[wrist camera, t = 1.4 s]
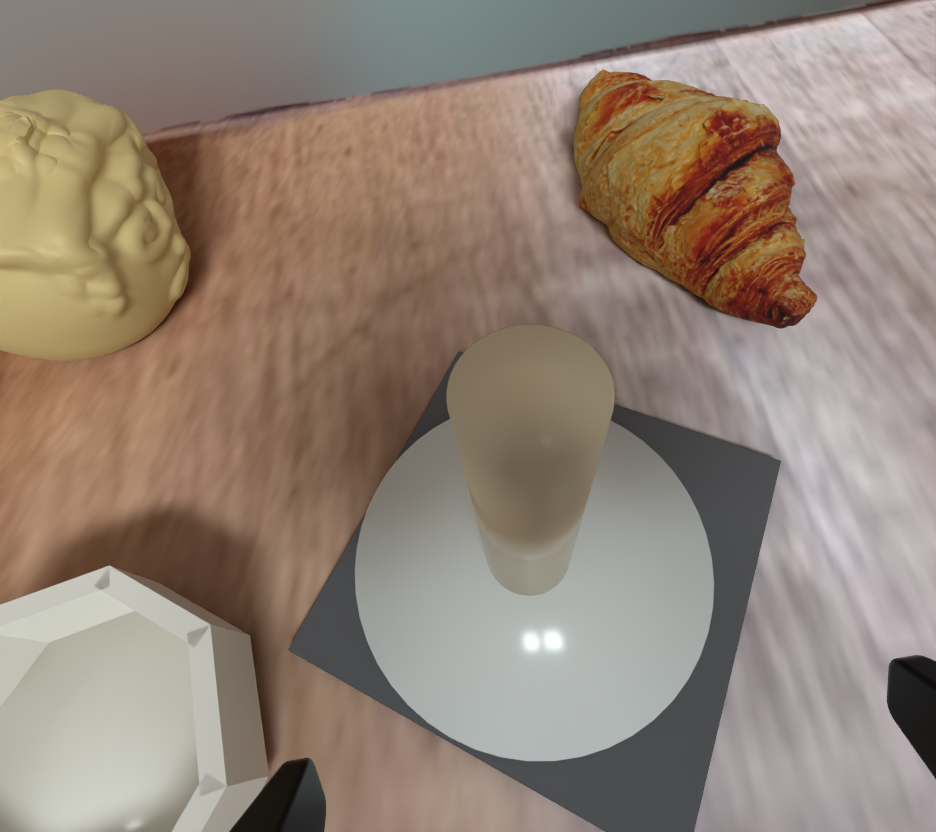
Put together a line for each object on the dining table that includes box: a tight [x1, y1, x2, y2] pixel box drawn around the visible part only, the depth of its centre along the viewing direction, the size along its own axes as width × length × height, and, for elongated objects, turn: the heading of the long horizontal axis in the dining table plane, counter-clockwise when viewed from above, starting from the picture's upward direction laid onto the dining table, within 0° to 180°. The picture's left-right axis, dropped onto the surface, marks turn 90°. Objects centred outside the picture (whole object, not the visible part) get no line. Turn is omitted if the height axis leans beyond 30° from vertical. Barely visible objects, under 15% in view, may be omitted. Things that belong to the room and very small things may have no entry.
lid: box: [355, 325, 714, 761], centre depth 16 cm, size 14×14×13 cm
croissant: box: [573, 70, 817, 328], centre depth 28 cm, size 21×10×8 cm, turn 19°
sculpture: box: [0, 89, 191, 361], centre depth 26 cm, size 12×12×11 cm
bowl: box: [0, 565, 269, 832], centre depth 18 cm, size 12×12×4 cm
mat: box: [288, 352, 781, 832], centre depth 22 cm, size 15×15×1 cm
